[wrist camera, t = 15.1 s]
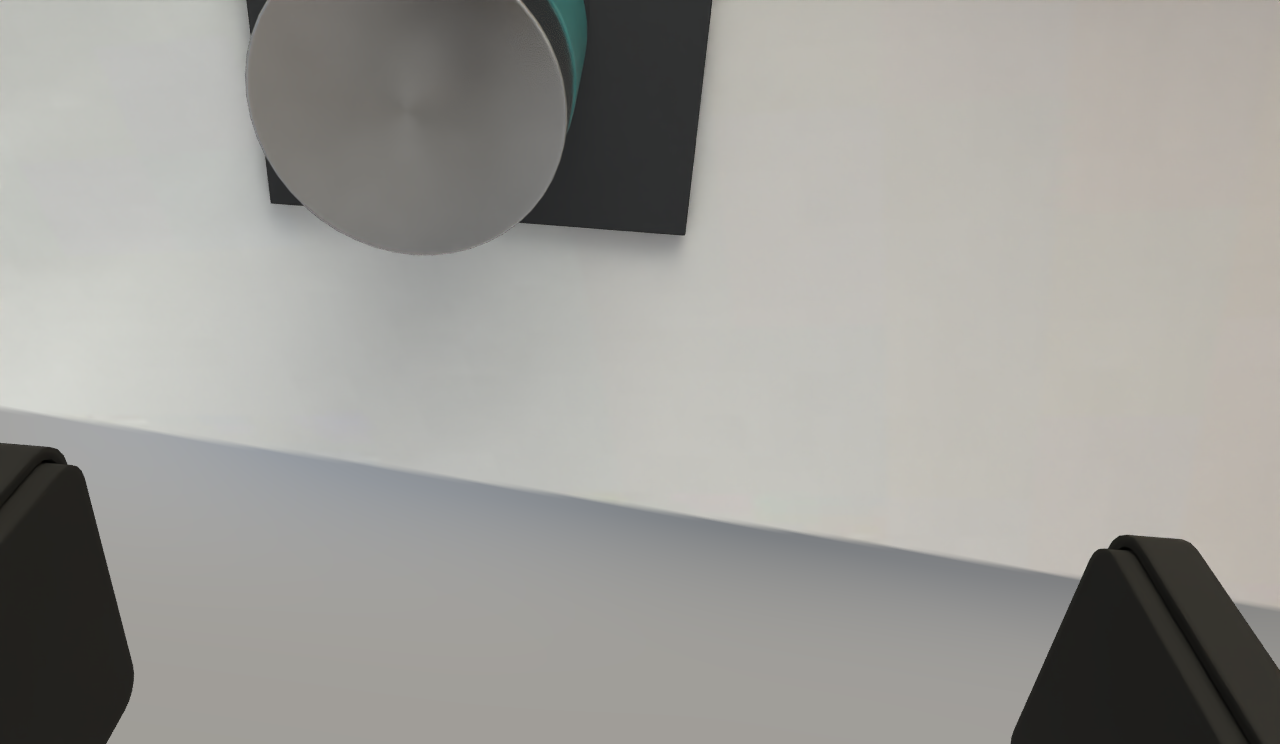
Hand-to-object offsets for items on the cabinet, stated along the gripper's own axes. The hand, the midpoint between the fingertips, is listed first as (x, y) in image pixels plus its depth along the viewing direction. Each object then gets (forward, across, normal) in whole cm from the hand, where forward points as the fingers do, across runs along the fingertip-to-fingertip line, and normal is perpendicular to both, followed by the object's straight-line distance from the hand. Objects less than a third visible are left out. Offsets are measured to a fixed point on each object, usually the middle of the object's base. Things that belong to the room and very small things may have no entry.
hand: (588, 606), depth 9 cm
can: (+20, +4, -1) cm, 20 cm away
